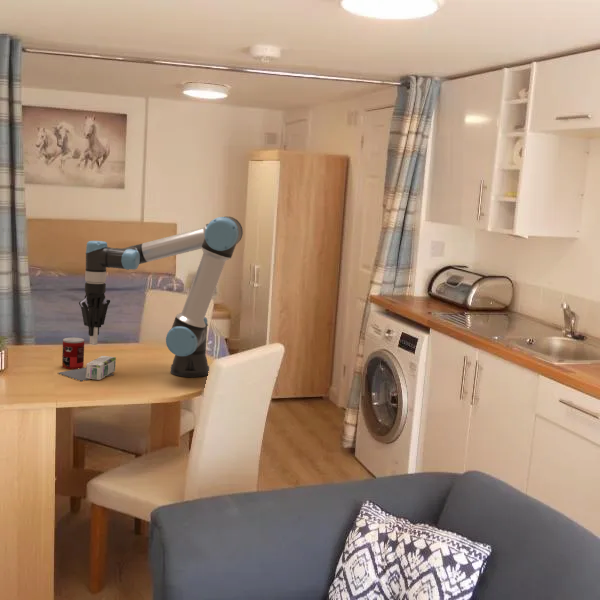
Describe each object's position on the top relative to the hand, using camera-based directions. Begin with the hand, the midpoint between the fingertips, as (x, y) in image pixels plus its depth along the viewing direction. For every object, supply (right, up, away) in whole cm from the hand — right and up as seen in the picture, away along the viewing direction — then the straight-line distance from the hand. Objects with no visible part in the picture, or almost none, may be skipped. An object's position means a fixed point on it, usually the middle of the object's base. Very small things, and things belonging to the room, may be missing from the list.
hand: (93, 343), depth 278 cm
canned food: (-10, -10, +9) cm, 17 cm away
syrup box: (+4, -8, +6) cm, 11 cm away
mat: (-3, -11, -1) cm, 12 cm away
